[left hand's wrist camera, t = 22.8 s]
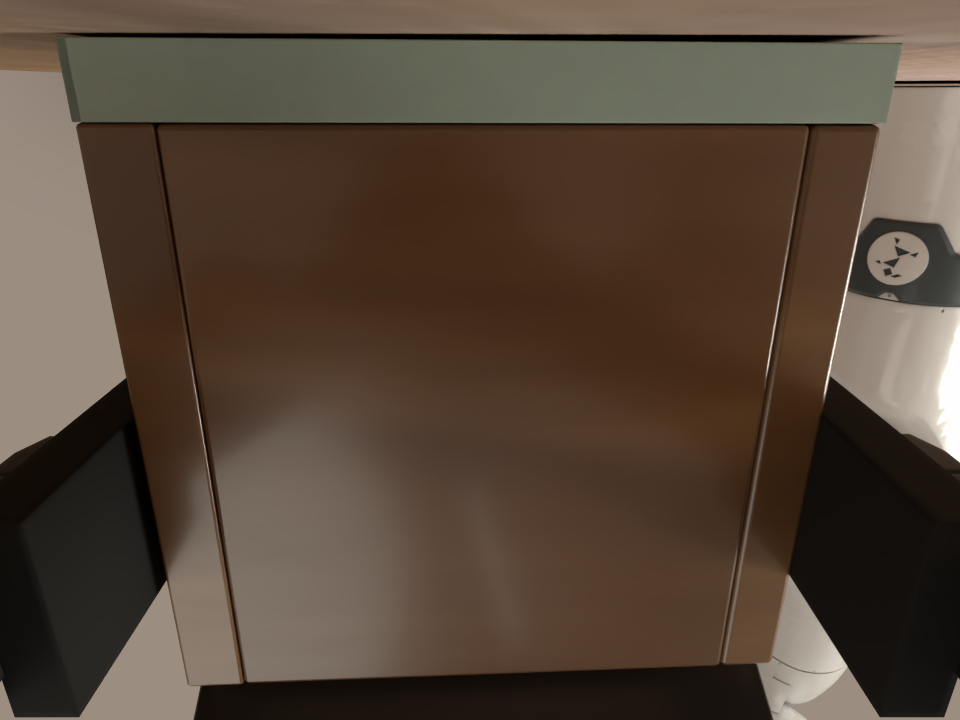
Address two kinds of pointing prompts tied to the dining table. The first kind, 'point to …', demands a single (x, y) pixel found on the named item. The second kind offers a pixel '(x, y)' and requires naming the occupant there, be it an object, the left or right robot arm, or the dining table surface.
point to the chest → (475, 337)
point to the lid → (504, 696)
